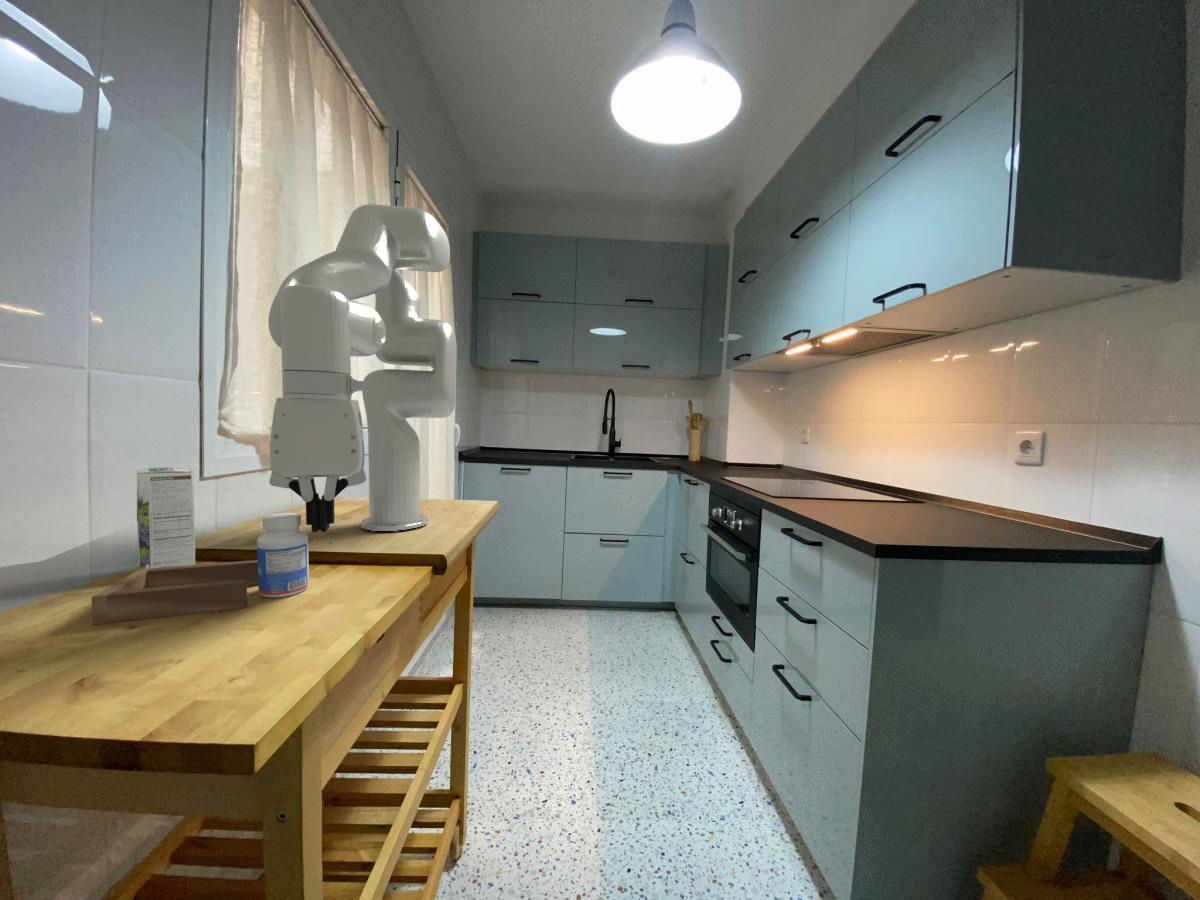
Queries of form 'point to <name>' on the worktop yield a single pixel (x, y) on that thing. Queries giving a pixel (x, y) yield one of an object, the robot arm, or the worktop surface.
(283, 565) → the pill bottle
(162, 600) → the cradle
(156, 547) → the syrup box
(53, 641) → the worktop surface
